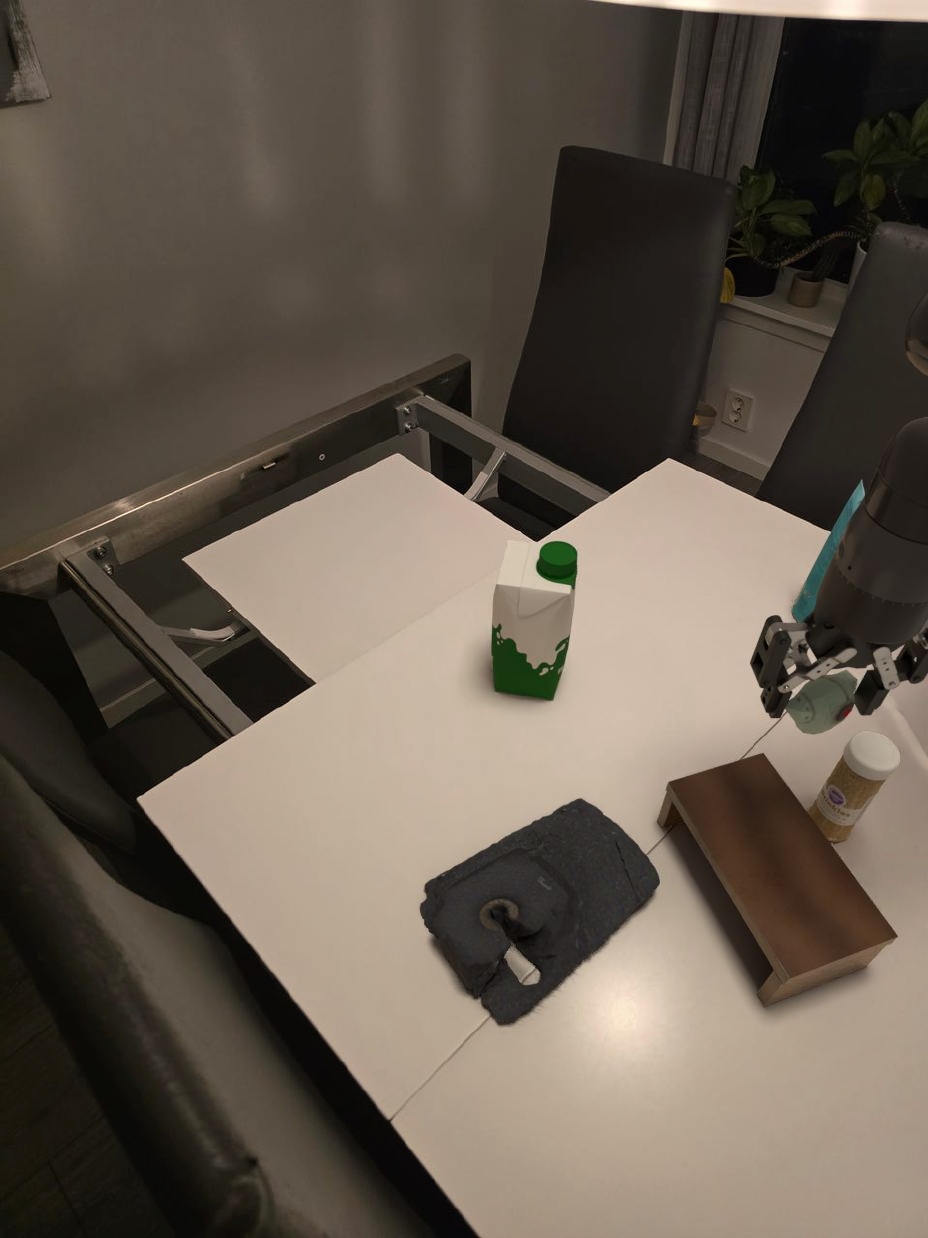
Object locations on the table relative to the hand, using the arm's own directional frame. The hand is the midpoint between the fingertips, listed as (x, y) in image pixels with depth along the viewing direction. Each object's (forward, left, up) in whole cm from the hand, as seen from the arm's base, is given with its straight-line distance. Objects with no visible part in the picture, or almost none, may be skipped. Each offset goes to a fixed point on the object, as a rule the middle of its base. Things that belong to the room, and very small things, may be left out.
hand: (816, 709), depth 67 cm
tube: (-18, -31, -20) cm, 41 cm away
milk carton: (+21, -23, -20) cm, 37 cm away
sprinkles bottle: (-8, 0, -20) cm, 22 cm away
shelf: (+2, +6, -20) cm, 21 cm away
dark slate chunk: (+23, +6, -20) cm, 31 cm away
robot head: (-1, 0, -3) cm, 4 cm away
